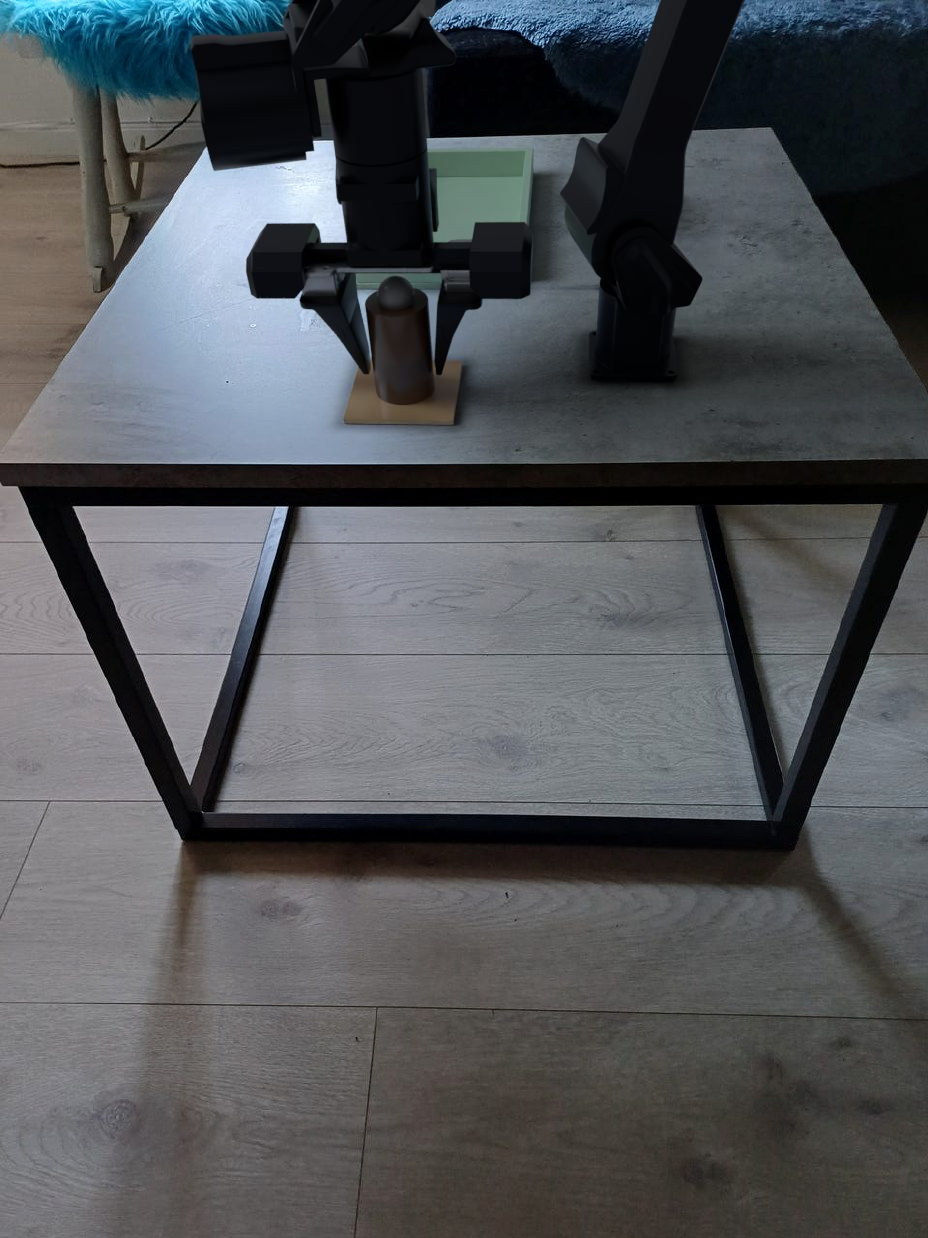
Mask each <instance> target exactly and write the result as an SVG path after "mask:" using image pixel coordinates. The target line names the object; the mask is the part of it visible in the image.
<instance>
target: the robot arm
mask: <svg viewBox="0 0 928 1238" xmlns="http://www.w3.org/2000/svg"><path fill="white" fill-rule="evenodd" d="M745 1H746V0H660V1H659V3H658V6H657V9H656V12H655V15H654V17H653V21H652V24H651V26H650V30H649V32H648V35H647V37H646V41H645V44H644V47H643V49H642V53H641V55H640V58H639V61H638V63H637V64H638V65H637V67H636V70H635V73H634V76H633V79H632V82H631V85H630V87H629V90H628V93H627V96H626V98H625V101H624V104H623V108H622V111H621V113H620V115H619V117H618V119H617V120H616V121H615V123H614V124H613V126H612V127H611V128H610V129H609V130H608V132H607V133H606V134H605V135H604V136H603V138H602V139H601V140H600V141H599V142H596V141H594V140H592V139H590V138H588V137H585V136H582V137H581V138H579V140H578V143H577V146H576V151H575V156H574V162H573V166H572V171H571V174H570V176H569V178H568V180H567V182H566V184H565V185H564V187H563V188H562V189H561V190H560V191H559V195H560V197H561V199H562V200H563V201H564V203H565V209H564V223H565V226H566V228H567V230H568V232H569V234H570V236H571V238H572V240H573V241H574V243H575V244H576V246H577V247H578V249H579V251H580V252H581V253H582V255H583V256H584V258H585V260H586V261H587V263H588V264H589V266H590V267H591V269H592V270H593V272H594V273H595V275H596V276H597V277H599V278H600V280H599V284H598V287H599V288H598V300H597V301H598V302H597V315H596V330H592V331H590V332H589V335H588V350H589V351H588V353H589V354H588V356H589V357H588V358H589V362H588V363H589V379H591V380H593V381H640V382H641V381H646V382H647V381H650V382H656V381H657V382H673V381H676V380H678V377H679V375H678V374H679V369H678V362H677V361H678V360H677V353H676V348H675V346H676V345H675V340H674V330H675V321H676V316H677V315H676V314H677V309H679V308H685V307H690V306H691V305H692V303H693V301H694V299H695V297H696V295H697V292H698V291H699V289H700V287H701V285H702V282H703V276H702V275H701V274H700V272H699V271H698V270H697V269H696V267H695V266H694V265H693V264H692V262H691V261H690V260H689V259H688V258H687V256H686V255H685V254H684V253H683V252H682V250H681V249H680V248H679V247H678V246H677V244H676V243H675V239H676V236H677V232H678V229H679V225H680V224H679V223H680V219H681V216H682V212H683V211H682V210H683V208H684V201H685V200H684V199H685V198H684V197H685V177H686V176H685V173H686V154H687V148H688V144H689V141H690V139H691V136H692V134H693V131H694V129H695V127H696V124H697V122H698V119H699V116H700V114H701V111H702V110H703V107H704V105H705V101H706V99H707V97H708V93H709V91H710V89H711V86H712V83H713V81H714V79H715V77H716V73H717V71H718V69H719V66H720V64H721V61H722V58H723V56H724V53H725V51H726V49H727V46H728V43H729V41H730V38H731V36H732V34H733V31H734V28H735V26H736V23H737V21H738V19H739V16H740V13H741V11H742V8H743V6H744V3H745ZM420 2H421V0H291V1H290V3H288V4H287V9H286V11H285V14H284V16H283V18H282V26H283V28H284V30H275V31H266V32H265V31H264V32H255V33H245V34H237V35H236V34H235V35H223V34H218V33H205V34H196V35H192V37H191V38H190V52H191V58H192V62H193V66H194V72H195V78H196V85H197V89H198V90H197V91H198V96H199V109H200V111H199V112H200V113H199V114H200V125H201V129H202V132H203V137H204V141H205V146H206V149H207V154H208V157H209V161H210V164H211V167H212V170H213V171H214V172H218V171H227V170H234V169H243V168H244V169H245V168H251V167H261V166H268V165H269V166H270V165H277V164H285V163H294V162H300V161H301V162H302V161H307V153H309V152H310V153H311V152H315V143H314V141H317V140H322V139H323V133H322V125H321V117H320V110H319V104H318V97H317V91H316V85H315V81H317V80H318V81H319V80H324V82H325V90H326V98H327V105H328V111H329V112H328V113H329V121H330V127H331V128H330V129H331V133H332V134H331V135H332V143H333V150H334V157H335V175H334V176H335V179H334V180H335V181H334V182H335V195H336V201H337V204H338V205H340V206H341V208H342V209H341V210H342V216H343V225H344V231H345V238H346V239H345V240H346V241H345V242H344V241H343V242H342V241H341V242H339V241H337V242H322V239H321V230H320V229H319V227H318V226H317V223H315V222H286V223H285V222H280V223H279V222H278V223H277V222H275V223H273V222H271V223H269V222H267V223H266V224H265V226H263V228H262V230H261V231H260V232H259V234H258V236H257V238H256V240H255V242H254V243H253V246H252V247H251V249H250V251H249V253H248V255H247V257H246V259H245V274H246V277H247V283H248V287H249V292H250V295H251V296H253V297H254V298H255V299H257V300H260V299H261V300H262V299H263V300H266V299H267V300H268V299H269V300H270V299H272V300H273V299H274V300H277V299H278V300H279V299H280V300H281V299H282V300H284V299H285V300H286V299H287V300H292V299H293V300H295V299H296V298H297V297H298V296H299V295H300V294H301V295H300V297H299V300H298V301H299V305H300V307H301V309H303V310H312V311H313V312H315V313H316V314H317V315H318V316H319V318H320V319H322V321H323V322H324V323H325V324H326V325H327V326H328V328H329V329H330V330H331V331H332V332H333V334H334V335H335V336H336V337H337V338H338V339H339V341H340V343H342V345H343V346H344V348H345V350H346V351H347V352H348V354H349V355H350V357H351V358H352V360H353V361H354V363H355V364H356V365H357V368H358V367H359V368H360V370H361V371H362V373H363V374H367V375H368V374H369V373H370V369H371V362H370V360H371V350H370V344H369V341H368V337H367V331H366V327H365V323H364V319H363V313H362V309H361V304H360V299H359V295H358V288H357V284H358V283H357V281H356V273H441V281H442V283H440V284H441V287H440V289H439V293H438V297H437V302H436V320H435V337H434V338H435V339H434V340H435V341H434V342H435V343H434V359H433V361H434V362H435V369H436V375H442V372H443V369H444V365H445V362H446V361H447V359H448V356H449V351H450V348H451V344H452V342H453V339H454V336H455V334H456V332H457V330H458V328H459V326H460V324H461V322H462V320H463V318H464V316H465V315H466V312H467V311H475V310H479V309H480V308H481V307H482V306H483V300H523V299H525V298H527V297H529V296H531V290H532V277H533V260H534V231H533V230H532V228H530V226H529V227H528V225H527V224H526V223H525V222H475V225H474V231H473V237H472V239H456V240H451V241H448V242H434V240H433V232H437V231H438V226H439V216H438V200H437V198H438V196H437V169H436V168H429V164H428V149H429V148H428V135H427V121H426V120H427V119H426V107H425V106H426V105H425V92H424V77H423V69H429V68H439V67H447V66H448V67H449V66H452V65H454V64H455V63H456V61H457V57H458V56H457V53H456V52H455V50H454V49H453V47H452V45H451V44H450V42H449V41H448V40H447V38H446V37H445V35H444V34H443V33H441V32H439V31H438V30H437V29H435V27H433V25H432V24H431V21H430V19H429V18H428V16H427V15H426V13H425V12H424V10H423V9H421V8H420V9H419V8H418V9H416V7H417V6H418V5H419V3H420ZM415 9H416V10H415ZM414 10H415V11H414ZM413 11H414V13H413ZM412 13H413V15H412V17H411V18H410V19H409V20H408V22H407V23H405V25H404V26H402V27H400V28H397V27H399V26H400V25H401V24H403V23H404V22H405V21H406V20H407V18H409V17H410V16H411V14H412Z"/></svg>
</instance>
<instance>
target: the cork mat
mask: <svg viewBox="0 0 928 1238" xmlns="http://www.w3.org/2000/svg"><path fill="white" fill-rule="evenodd" d="M370 362H371V369H370V373H369V374H368V375H367V374H363V373H362V371H361V370H360V368H359V367H358V366H357V370H356V374H355V377H354V382H353V384H352V388H351V392H350V395H349V397H348V401H347V403H346V404H347V405H346V408H345V411H344V415H343V418H342V420H343V424H351V425H353V424H355V425H356V424H358V425H359V424H361V425H365V424H366V425H422V426H423V425H425V426H426V425H430V426H431V425H432V426H434V425H435V426H436V425H437V426H454V424H455V418H456V417H455V416H456V410H457V404H458V398H459V391H460V384H461V378H462V372H463V366H464V365H463V364H464V363H463V362H464V361H463V360H446V362H445V365H444V369H443V372H442V375H436V369H435V362H434V360H433V370H434V384H435V388H434V391H433V393H432V394H431V395H430V396H429V397H428V398H427V399H425V400H423V401H421V402H418V403H415V404H410V405H395V404H390V403H387V402H385V401H383V400H382V399H380V398H379V397H378V395H377V393H376V388H375V380H374V372H373V364H372V359H370Z"/></svg>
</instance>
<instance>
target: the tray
mask: <svg viewBox="0 0 928 1238" xmlns="http://www.w3.org/2000/svg"><path fill="white" fill-rule="evenodd" d="M427 149H428V164H429V168H436V169H437V196H438V198H437V200H438V216H439V226H438V231H437V232H433V240H434V242H448V241H451V240H456V239H472V237H473V231H474V225H475V222H525V223H526V224H527V225H528V227H529V228H530V217H531V205H532V193H533V182H534V153H535V152H534V151H535V150H534V147H493V148H492V147H491V148H489V147H484V148H479V147H478V148H477V147H476V148H475V147H474V148H427ZM390 276H401V277H404V278H405V279H407V280H408V281H409V282H410V283H411V285H412V286H413V288H416V289H419V290H440V287H441V283H442V281H441V273H356V284H357V290H361V289H362V290H378V288H379V285H380V284H381V282H382V281H383V280H384V279H386V278H388V277H390Z"/></svg>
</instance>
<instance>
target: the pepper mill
mask: <svg viewBox="0 0 928 1238" xmlns="http://www.w3.org/2000/svg"><path fill="white" fill-rule="evenodd" d="M379 284H380V285H379V288H378V289H377V290H376V291H374V292H373V293H371V294H370V295H368V296H367V297H366V299H365V301H364V306H365V314H366V316H365V317H366V323H367V331H368V339H369V349H370V357H371V360H372V364H373V372H374V380H375V388H376V393H377V395H378V397H379V398H380V399H382V400H383V401H385V402H387V403H390V404H395V405H410V404H415V403H418V402H421V401H423V400H425V399H427V398H428V397H429V396H430V395H431V394H432V393H433V391H434V388H435V384H434V370H433V361H434V359H433V344H432V343H433V342H432V331H431V317H430V304H429V297H428V296H427V293H426V292H424V291H423V290H422V289H416V288H413V286H412V285H411V284H412V283H410V282H409V281H408V280H407V279H405V278H404V277H401V276H390V277H388V278H386V279H384V280H383V281H382V282H381V283H379Z"/></svg>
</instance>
